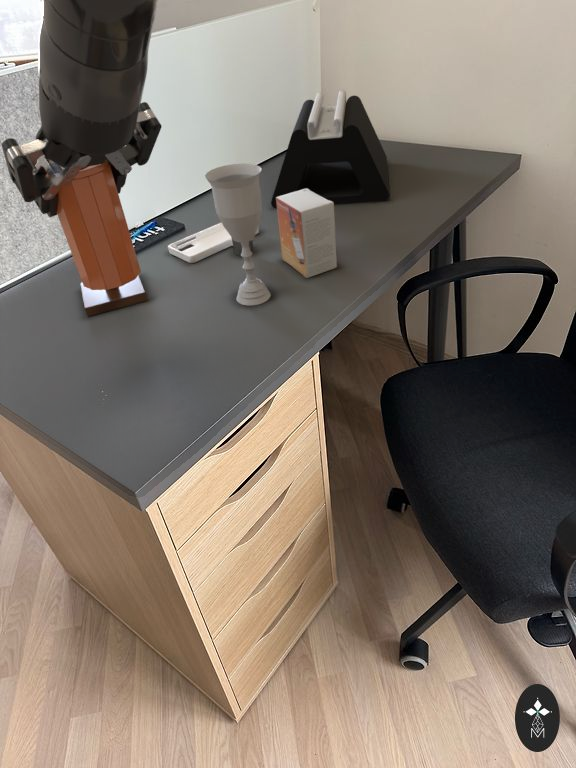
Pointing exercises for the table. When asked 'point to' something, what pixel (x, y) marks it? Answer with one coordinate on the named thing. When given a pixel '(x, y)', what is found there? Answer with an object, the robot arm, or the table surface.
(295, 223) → the small box
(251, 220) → the chalice
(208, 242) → the phone case
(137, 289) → the stand
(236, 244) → the milkshake
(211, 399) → the table surface
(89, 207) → the cup
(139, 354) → the table surface
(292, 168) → the device stand
